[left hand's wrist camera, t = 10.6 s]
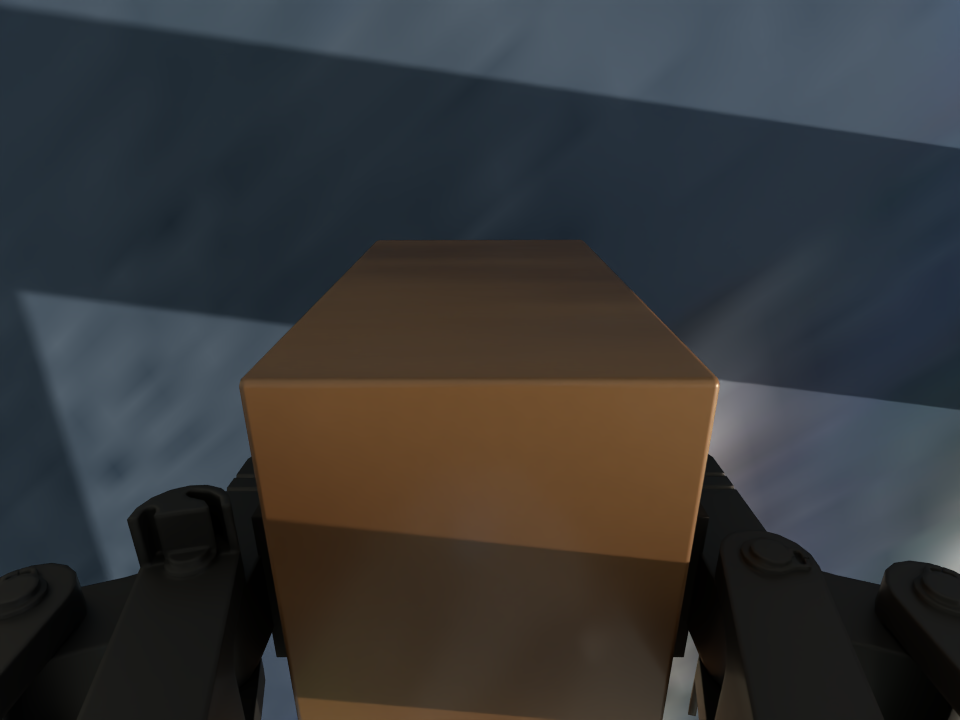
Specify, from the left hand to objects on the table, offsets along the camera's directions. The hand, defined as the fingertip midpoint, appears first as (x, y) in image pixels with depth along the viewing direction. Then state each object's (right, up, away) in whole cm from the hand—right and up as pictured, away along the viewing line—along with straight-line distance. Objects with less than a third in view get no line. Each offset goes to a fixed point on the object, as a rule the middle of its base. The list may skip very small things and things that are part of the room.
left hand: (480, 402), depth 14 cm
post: (0, -23, +10) cm, 25 cm away
